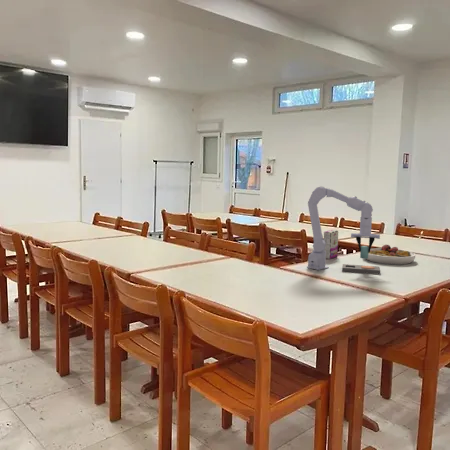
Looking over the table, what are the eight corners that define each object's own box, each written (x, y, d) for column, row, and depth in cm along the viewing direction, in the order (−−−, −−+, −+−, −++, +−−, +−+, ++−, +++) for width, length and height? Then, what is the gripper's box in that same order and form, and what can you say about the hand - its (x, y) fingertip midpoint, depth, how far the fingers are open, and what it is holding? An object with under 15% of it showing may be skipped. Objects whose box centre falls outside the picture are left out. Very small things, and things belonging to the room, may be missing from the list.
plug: (365, 258, 236) (366, 247, 236) (358, 257, 239) (359, 246, 239) (369, 257, 239) (370, 246, 238) (362, 256, 242) (363, 245, 241)
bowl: (419, 267, 254) (420, 253, 253) (364, 263, 260) (365, 250, 259) (409, 257, 283) (410, 245, 282) (359, 254, 289) (360, 242, 288)
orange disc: (370, 269, 234) (370, 269, 234) (358, 267, 239) (358, 266, 239) (377, 267, 239) (377, 267, 239) (365, 265, 244) (365, 265, 244)
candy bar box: (330, 255, 282) (331, 229, 280) (337, 256, 279) (338, 230, 277) (322, 258, 274) (323, 231, 271) (330, 259, 270) (331, 232, 268)
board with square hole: (342, 271, 238) (342, 267, 238) (342, 267, 248) (342, 264, 247) (380, 274, 233) (380, 270, 233) (379, 270, 243) (379, 266, 242)
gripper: (351, 226, 235) (350, 251, 237) (380, 227, 231) (379, 253, 233) (351, 224, 242) (350, 249, 244) (379, 225, 238) (378, 251, 240)
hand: (364, 251), depth 239 cm, fingers closed on plug, 4 cm apart
